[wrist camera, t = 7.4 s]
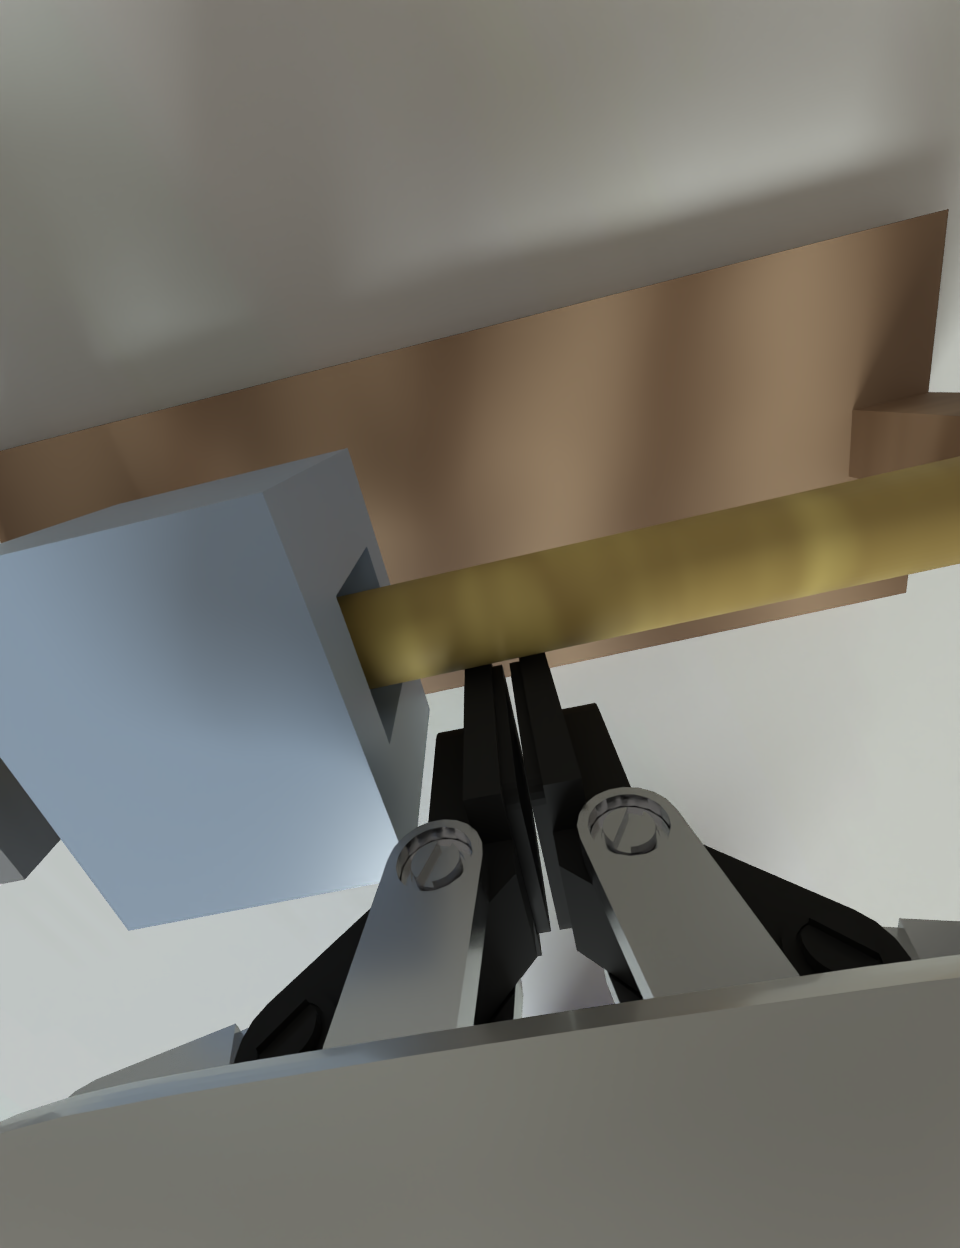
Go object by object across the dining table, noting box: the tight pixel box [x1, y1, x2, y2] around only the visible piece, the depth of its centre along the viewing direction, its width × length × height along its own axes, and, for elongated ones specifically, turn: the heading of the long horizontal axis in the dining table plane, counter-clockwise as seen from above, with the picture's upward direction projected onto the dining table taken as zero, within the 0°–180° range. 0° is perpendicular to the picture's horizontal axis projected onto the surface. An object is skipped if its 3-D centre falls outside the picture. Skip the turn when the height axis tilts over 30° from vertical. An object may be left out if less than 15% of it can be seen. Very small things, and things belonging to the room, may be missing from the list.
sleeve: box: [0, 448, 430, 931], centre depth 10 cm, size 5×6×5 cm
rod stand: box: [0, 209, 960, 884], centre depth 12 cm, size 26×10×10 cm, turn 103°
